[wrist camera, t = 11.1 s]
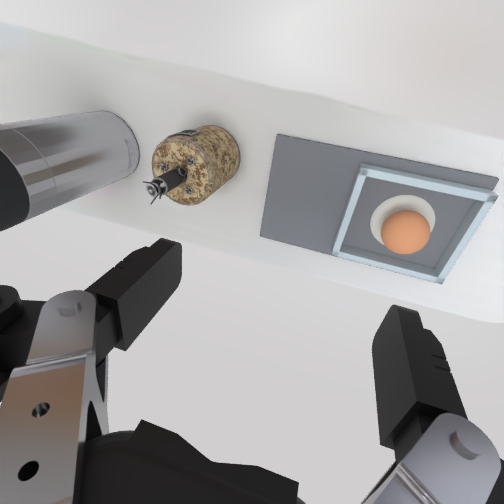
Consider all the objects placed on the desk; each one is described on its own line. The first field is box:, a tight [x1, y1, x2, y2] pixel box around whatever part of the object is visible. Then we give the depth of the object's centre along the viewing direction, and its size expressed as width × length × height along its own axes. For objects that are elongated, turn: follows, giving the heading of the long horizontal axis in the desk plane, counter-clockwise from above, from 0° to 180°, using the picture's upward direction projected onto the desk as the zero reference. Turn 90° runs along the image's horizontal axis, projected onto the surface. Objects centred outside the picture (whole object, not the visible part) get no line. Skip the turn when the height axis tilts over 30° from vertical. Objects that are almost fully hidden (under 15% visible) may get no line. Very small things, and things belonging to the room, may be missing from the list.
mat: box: [260, 134, 499, 283], centre depth 36 cm, size 24×14×1 cm, turn 82°
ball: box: [381, 210, 431, 254], centre depth 33 cm, size 5×5×5 cm
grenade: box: [143, 125, 240, 205], centre depth 32 cm, size 8×7×15 cm
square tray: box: [331, 163, 498, 284], centre depth 34 cm, size 14×12×2 cm
